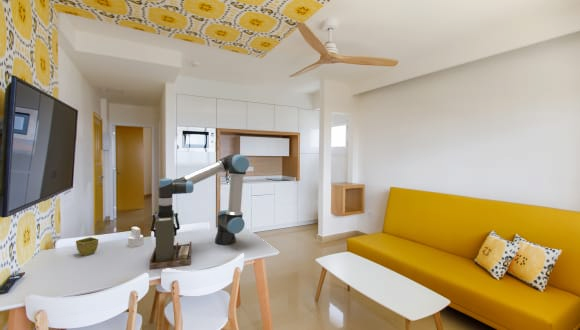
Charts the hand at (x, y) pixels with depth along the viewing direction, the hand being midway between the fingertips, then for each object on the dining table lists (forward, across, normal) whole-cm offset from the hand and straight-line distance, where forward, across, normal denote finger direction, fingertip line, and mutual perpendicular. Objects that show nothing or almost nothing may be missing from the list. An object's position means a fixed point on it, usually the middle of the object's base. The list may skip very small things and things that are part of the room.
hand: (165, 241), depth 162 cm
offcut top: (+8, -11, 0) cm, 13 cm away
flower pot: (+12, +47, -23) cm, 54 cm away
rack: (+11, -4, 0) cm, 12 cm away
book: (+12, 0, 0) cm, 12 cm away
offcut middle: (+10, -10, 0) cm, 14 cm away
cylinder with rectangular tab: (+12, +22, -33) cm, 41 cm away
